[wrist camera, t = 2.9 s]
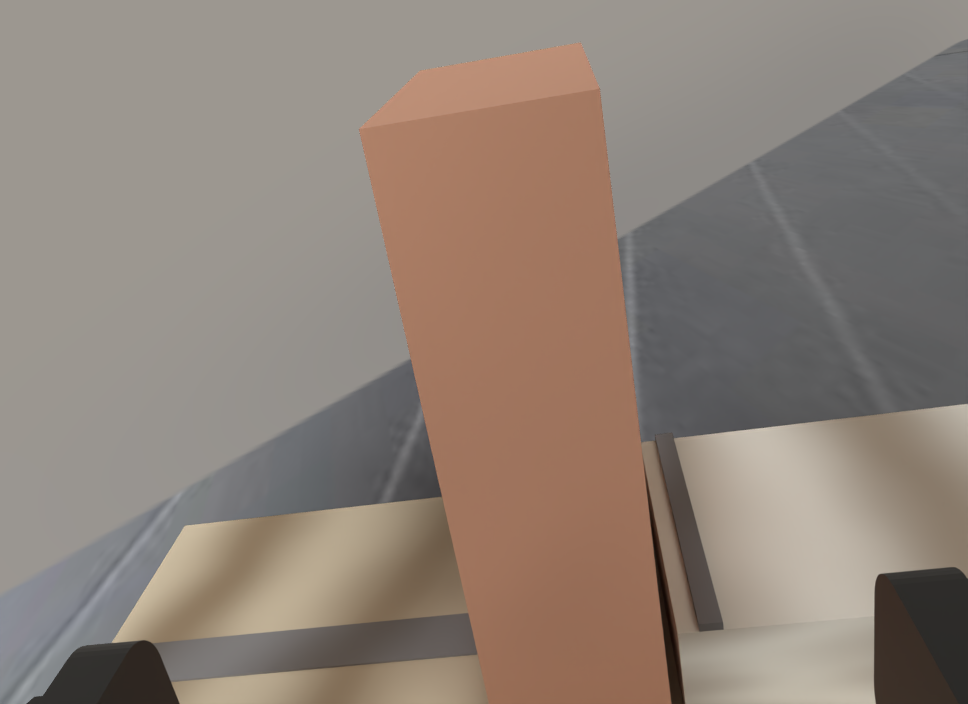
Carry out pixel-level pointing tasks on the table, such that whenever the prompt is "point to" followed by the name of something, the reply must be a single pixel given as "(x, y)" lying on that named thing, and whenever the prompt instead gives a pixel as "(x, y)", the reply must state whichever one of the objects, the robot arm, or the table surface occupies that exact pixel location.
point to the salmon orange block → (525, 369)
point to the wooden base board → (678, 560)
